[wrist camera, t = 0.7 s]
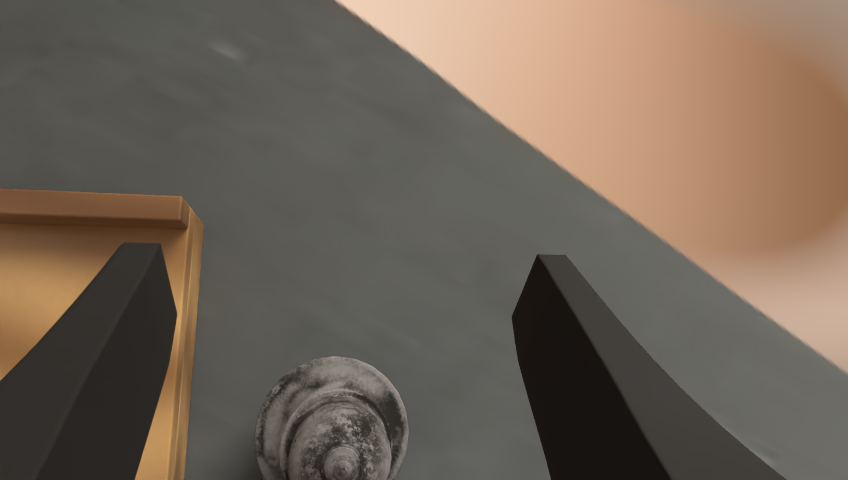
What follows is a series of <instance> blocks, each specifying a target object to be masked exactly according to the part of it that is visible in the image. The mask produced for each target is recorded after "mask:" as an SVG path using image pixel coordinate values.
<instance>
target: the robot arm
mask: <svg viewBox="0 0 848 480" xmlns="http://www.w3.org/2000/svg"><path fill="white" fill-rule="evenodd" d="M176 320H177V310H176V306H175V302H174V297H173V293H172V289H171V285H170V280H169V276H168V272H167V268H166V264H165V259H164V255H163V251H162V247H161V243H135V242H124V243H123V244H122V245H121V246H119V247H118V249H117V250H116V251H115V252H114V254H113V255H112V256H111V257H110V259H109V260H108V261H107V262H106V264H105V265H104V266H103V267H102V269H101V270H100V271H99V272H98V274H97V275H96V276H95V277H94V278H93V280H92V281H91V282H90V283H89V284H88V286H87V287H86V288H85V289H84V290H83V292H82V293H81V294H80V295H79V296H78V298H77V299H76V300H75V301H74V302H73V303H72V305H71V306H70V307H69V308H68V309H67V310H66V311H65V312H64V314H63V315H62V316H61V317H60V318H59V319H58V320H57V321H56V323H55V324H54V325H53V326H52V327H51V328H50V329H49V330H48V331H47V333H46V334H45V335H44V336H43V337H42V338H41V339H40V340H39V341H38V343H37V344H36V345H35V346H34V347H33V348H32V349H31V350H30V351H29V352H28V353H27V354H26V355H25V356H24V357H23V358H22V359H21V360H20V361H19V362H18V363H17V364H16V365H15V366H14V367H13V368H12V369H11V370H10V371H9V372H8V373H7V374H6V375H5V376H4V377H3V378H2V379H1V380H0V480H135V477H136V474H137V471H138V467H139V464H140V461H141V457H142V454H143V451H144V447H145V444H146V441H147V438H148V434H149V431H150V428H151V424H152V421H153V418H154V414H155V411H156V408H157V404H158V401H159V397H160V394H161V391H162V387H163V384H164V380H165V377H166V374H167V370H168V367H169V362H170V357H171V351H172V345H173V339H174V333H175V327H176ZM512 323H513V330H514V337H515V344H516V350H517V356H518V362H519V366H520V370H521V373H522V377H523V381H524V384H525V388H526V391H527V395H528V398H529V402H530V405H531V409H532V412H533V416H534V419H535V423H536V426H537V430H538V433H539V437H540V440H541V444H542V447H543V451H544V454H545V457H546V461H547V465H548V469H549V473H550V477H551V480H786V479H785V478H784V477H782V476H781V475H780V474H778V473H777V472H776V471H775V470H773V469H772V468H771V467H770V466H768V465H767V464H766V463H765V462H764V461H762V460H761V459H760V458H759V457H757V456H756V455H755V454H754V453H752V452H751V451H750V450H749V449H748V448H746V447H745V446H744V445H743V444H741V443H740V442H739V441H738V440H737V439H736V438H734V437H733V436H732V435H731V434H730V433H729V432H728V431H726V430H725V429H724V428H723V427H722V426H721V425H720V424H719V423H717V422H716V421H715V420H714V419H713V418H712V417H711V416H710V415H709V414H708V413H707V412H706V411H705V410H703V409H702V408H701V407H700V406H699V405H698V404H697V403H696V402H695V401H694V400H693V399H692V398H691V397H690V396H689V395H687V394H686V393H685V392H684V391H683V390H682V389H681V388H680V387H679V386H678V385H677V384H676V383H675V382H674V380H673V379H672V378H671V377H670V376H669V375H668V374H667V373H666V372H665V371H664V370H663V369H662V368H661V367H660V366H659V365H658V364H657V363H656V362H655V361H654V360H653V358H652V357H651V356H650V355H649V354H648V353H647V352H646V351H645V350H644V349H643V347H642V346H641V345H640V344H639V343H638V342H637V341H636V340H635V338H634V337H633V336H632V335H631V334H630V333H629V332H628V330H627V329H626V328H625V327H624V326H623V325H622V323H621V322H620V321H619V320H618V319H617V317H616V316H615V315H614V314H613V313H612V311H611V310H610V309H609V308H608V307H607V305H606V304H605V303H604V302H603V301H602V299H601V298H600V297H599V296H598V294H597V293H596V292H595V291H594V290H593V288H592V287H591V286H590V285H589V283H588V282H587V281H586V280H585V278H584V277H583V276H582V275H581V273H580V272H579V271H578V270H577V268H576V267H575V266H574V265H573V264H572V262H571V261H570V260H569V259H568V258H567V256H566V255H541V254H537V256H536V259H535V261H534V264H533V266H532V269H531V271H530V274H529V276H528V278H527V281H526V283H525V286H524V288H523V291H522V293H521V296H520V298H519V300H518V303H517V305H516V308H515V310H514V313H513V315H512Z"/></svg>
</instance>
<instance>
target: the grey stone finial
mask: <svg viewBox="0 0 848 480" xmlns="http://www.w3.org/2000/svg"><path fill="white" fill-rule="evenodd" d="M408 433H409V430H408V422H407V415H406V410H405V408H404V405H403V403H402V400H401V398H400V395H399V393H398V392H397V390H396V389H395V388H394V386H393V385H392V384H391V382H390V381H389V380H388V378H387V377H386V376H384V375H383V374H382V373H380V372H379V371H378V370H377V369H375V368H374V367H373V366H371V365H369V364H366V363H364V362H361V361H359V360H356V359H354V358H346V357H338V356H333V357H326V358H318V359H314V360H312V361H309V362H307V363H304V364H302V365H300V366H297V367H296V368H294V369H293V370H292V371H290V372H289V373H288V374H286V375H285V376H284V377H283V378H281V379H280V380H279V381H278V383H277V384H276V385H275V386H274V388H273V389H272V390H271V391H270V393H269V394H268V395H267V397H266V399H265V401H264V403H263V405H262V408H261V410H260V412H259V414H258V418H257V423H256V429H255V435H254V441H255V454H256V460H257V463H258V465H259V468H260V471H261V474H262V476H263V479H264V480H394V478H395V477H396V475H397V474H398V472H399V470H400V467H401V465H402V462H403V459H404V457H405V454H406V450H407V442H408Z"/></svg>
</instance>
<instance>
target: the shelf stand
mask: <svg viewBox="0 0 848 480" xmlns="http://www.w3.org/2000/svg"><path fill="white" fill-rule="evenodd" d="M203 231H204V224H203V223H202V222H201V220H200V219H199V218H198V216H197V215H196V214H195V213H194V211H193V210H192V209H191V208H190V206H189V205H188V204H187V203H186V201H185V200H184V199H183V197H181V196H161V195H138V194H116V193H93V192H70V191H47V190H24V189H1V188H0V380H1V379H2V378H3V377H4V376H5V375H6V374H7V373H8V372H9V371H10V370H11V369H12V368H13V367H14V366H15V365H16V364H17V363H18V362H19V361H20V360H21V359H22V358H23V357H24V356H25V355H26V354H27V353H28V352H29V351H30V350H31V349H32V348H33V347H34V346H35V345H36V344H37V343H38V341H39V340H40V339H41V338H42V337H43V336H44V335H45V334H46V333H47V331H48V330H49V329H50V328H51V327H52V326H53V325H54V324H55V323H56V321H57V320H58V319H59V318H60V317H61V316H62V315H63V314H64V312H65V311H66V310H67V309H68V308H69V307H70V306H71V305H72V303H73V302H74V301H75V300H76V299H77V298H78V296H79V295H80V294H81V293H82V292H83V290H84V289H85V288H86V287H87V286H88V284H89V283H90V282H91V281H92V280H93V278H94V277H95V276H96V275H97V274H98V272H99V271H100V270H101V269H102V267H103V266H104V265H105V264H106V262H107V261H108V260H109V259H110V257H111V256H112V255H113V254H114V252H115V251H116V250H117V249H118V247H119V246H121V245H122V244H123V243H124V242H135V243H161V247H162V251H163V255H164V259H165V264H166V268H167V272H168V276H169V280H170V285H171V289H172V293H173V297H174V302H175V306H176V310H177V320H176V327H175V333H174V339H173V345H172V351H171V357H170V362H169V367H168V370H167V374H166V377H165V380H164V384H163V387H162V391H161V394H160V397H159V401H158V404H157V408H156V411H155V414H154V418H153V421H152V424H151V428H150V431H149V434H148V438H147V441H146V444H145V447H144V451H143V454H142V457H141V461H140V464H139V467H138V471H137V474H136V477H135V480H184V472H185V460H186V447H187V434H188V422H189V409H190V396H191V383H192V371H193V358H194V345H195V333H196V320H197V307H198V295H199V282H200V269H201V257H202V244H203Z"/></svg>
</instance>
